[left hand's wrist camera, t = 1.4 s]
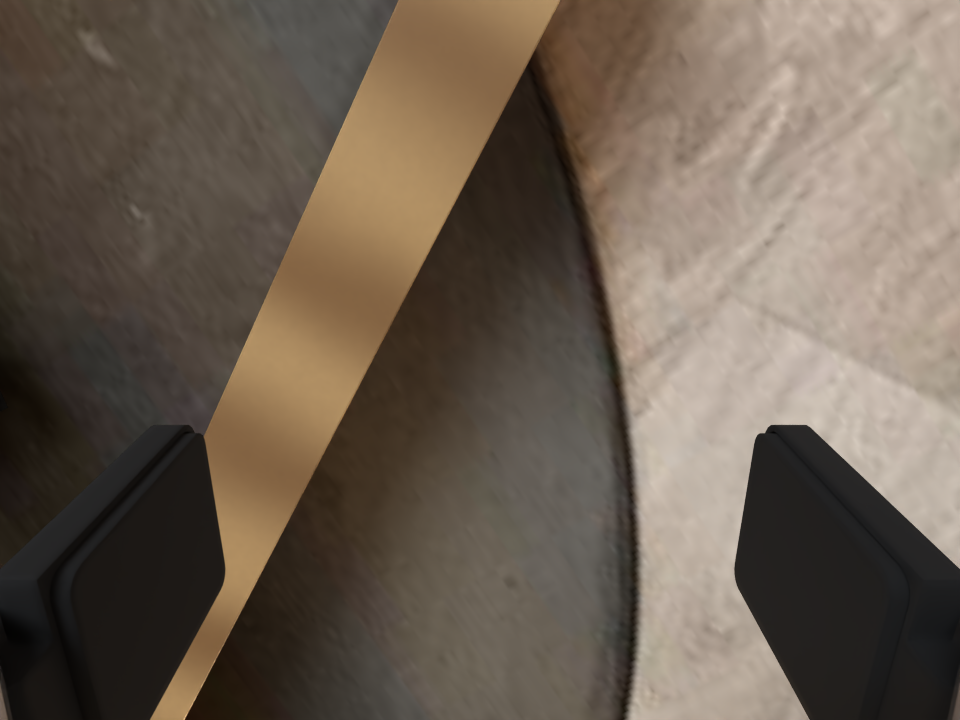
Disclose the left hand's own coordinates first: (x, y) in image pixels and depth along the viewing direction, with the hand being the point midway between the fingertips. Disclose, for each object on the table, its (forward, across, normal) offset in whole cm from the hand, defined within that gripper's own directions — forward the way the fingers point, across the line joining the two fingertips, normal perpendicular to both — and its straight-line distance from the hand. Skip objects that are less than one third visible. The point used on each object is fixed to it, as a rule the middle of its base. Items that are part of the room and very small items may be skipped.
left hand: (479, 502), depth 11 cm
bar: (+21, -13, -15) cm, 29 cm away
